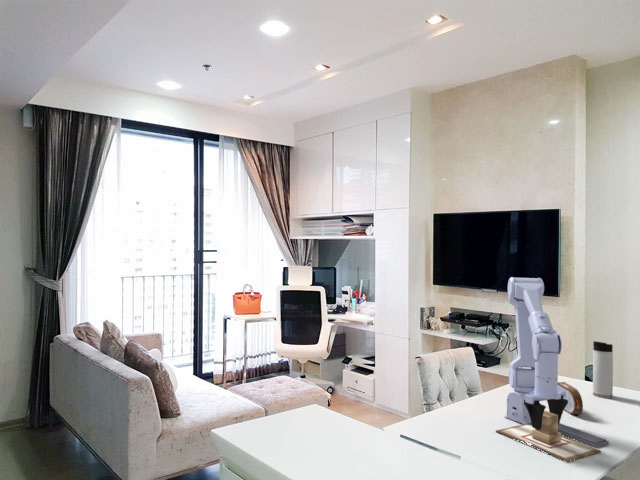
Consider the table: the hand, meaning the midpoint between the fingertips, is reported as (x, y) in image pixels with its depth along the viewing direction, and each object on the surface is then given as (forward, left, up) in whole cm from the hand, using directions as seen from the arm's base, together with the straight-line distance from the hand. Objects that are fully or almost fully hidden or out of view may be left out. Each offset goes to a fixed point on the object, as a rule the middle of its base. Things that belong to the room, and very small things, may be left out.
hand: (545, 426), depth 131 cm
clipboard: (0, 0, -4) cm, 4 cm away
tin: (+31, +15, -4) cm, 35 cm away
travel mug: (+59, +20, -4) cm, 62 cm away
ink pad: (+12, 0, -4) cm, 12 cm away
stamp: (0, 0, -4) cm, 4 cm away
